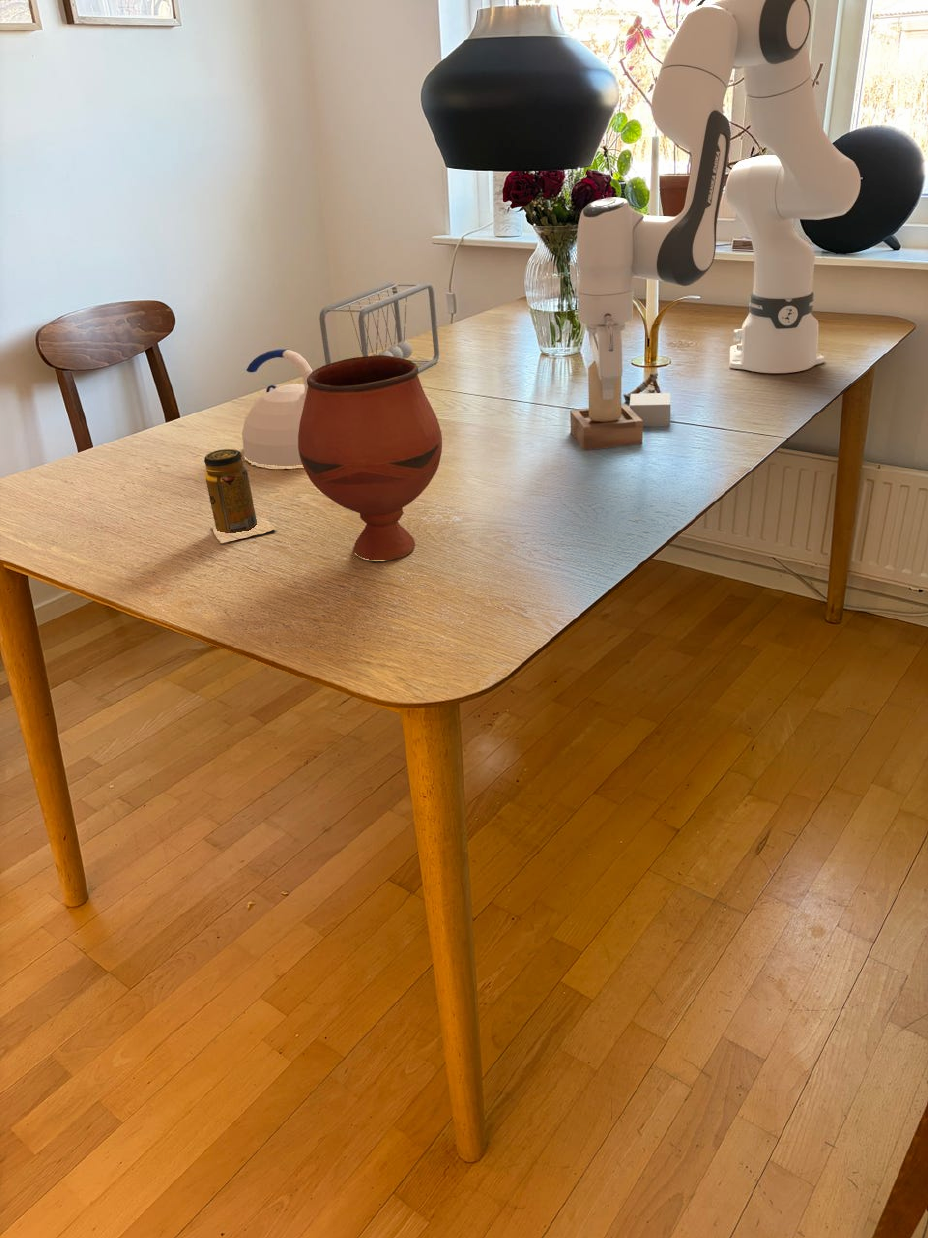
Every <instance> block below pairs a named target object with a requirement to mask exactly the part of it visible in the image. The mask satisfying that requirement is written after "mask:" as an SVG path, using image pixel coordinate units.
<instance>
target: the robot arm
mask: <svg viewBox="0 0 928 1238" xmlns="http://www.w3.org/2000/svg"><path fill="white" fill-rule="evenodd" d="M811 20H812V16H811V7H810V4H809V2H808V0H695V1H693V2H692V3H690V4H689V5H688V6H687V8H686V9H685V10H684V12H683V13H682V15H681V17H680V20H679V22H678V25H677V29H676V31H675V33H674V35H673V37H672V39H671V41H670V44H669V46H668V48H667V51H666V53H665V56H664V59H663V61H662V65H661V67H660V70H659V74H658V76H657V79H656V83H655V85H654V88H653V89H654V90H653V91H652V92H653V93H652V98H651V104H650V105H651V107H650V110H651V115H652V118H653V121H654V123H655V125H656V127H657V128H658V130H659V131H660V132H661V133H662V134H663V136H665V137H666V138H668V139H669V140H670V141H672V142H673V143H674V144H675V145H676V144H677V145H678V146H679V147H682V148H684V149H685V150H686V151H689V152H690V154H691V168H690V173H689V178H688V186H687V190H686V196H685V200H684V201H685V203H684V207H683V209H682V210H681V212H679V214H677V215H676V216H664V215H661V216H660V215H654V214H653V215H652V214H651V215H650V214H645V213H642V212H639V211H638V210H636V209H634V208H633V207H631V205H630V202H629V200H627V199H626V198H622V197H617V196H616V197H615V196H614V197H606V198H602V199H597V200H595V201H592V202H590V203H588V204H586V206H585V207H584V208H582V210H581V212H580V215H579V220H578V225H577V226H578V227H577V237H576V239H577V240H576V262H577V268H578V271H579V282H578V285H577V286H578V287H577V312H578V313H577V314H578V315H577V317H578V318H577V320H578V321H579V322H580V323H581V324H585V325H586V326H585V329H586V331H587V332H588V333H587V334H588V339H589V345H590V350H591V353H592V357H593V359H594V360H595V364H596V367H597V371H598V374H599V378H600V380H602V396H603V399H605V400H607V399H613V397H614V384H615V380H619V379H621V380H622V377H623V338H622V337H623V336H622V331H625V329H626V322H629V321H631V320H632V319H633V318H634V284H633V280H632V278H636V279H637V278H639V279H643V280H651V281H661V282H665V283H669V284H673V285H678V286H683V287H688V286H691V285H693V284H695V283H697V282H698V281H699V280H700V279H701V278H702V277H704V276H705V274H706V273H708V271H709V270H710V268H711V267H712V265H713V263H714V259H715V255H716V249H717V226H718V225H717V224H718V218H719V212H720V206H721V200H722V195H723V189H724V192H725V195H724V196H725V199H726V202H727V204H728V207H729V208H730V210H731V211H732V212H734V214H736V216H737V217H738V218H739V219H740V220H741V221H742V223H743V225H744V226H745V228H746V230H747V233H748V235H749V237H750V240H751V244H752V249H753V257H754V258H753V259H754V261H753V262H754V263H753V265H754V268H753V269H754V270H753V272H754V273H753V289H752V290H753V291H752V293H751V295H750V299H749V303H748V304H749V306H748V307H749V308H748V314H747V317H746V318H745V320H744V321H743V323H742V326H741V328H738V329H737V328H736V329H733V341H734V342H739V341H740V343H737V344H735V345H731V346H730V347H729V355H728V356H729V360H728V361H729V363H728V364H729V365H728V366H729V368H730V369H735V370H736V369H738V370H746V371H751V372H756V373H762V374H788V373H797V372H801V371H806V370H809V369H811V368H813V367H814V366H816V365H820V364H822V363H824V362H825V357H824V356H823V355H821V354H819V353H818V345H819V344H818V343H819V321H818V320H817V318H815V317H814V316H813V315H812V312H813V307H814V303H815V299H814V294H815V293H814V292H813V291H812V290H813V282H814V272H815V271H814V269H815V261H816V259H815V258H816V256H815V252H814V248H813V247H812V246H811V244H809V243H808V242H807V241H806V240H805V239H803V238H801V236H799V234H798V233H797V231H796V229H795V227H794V225H793V219H794V220H795V219H796V220H814V221H816V220H818V221H820V220H824V219H831V218H835V217H840V216H844V215H845V214H847V212H849V211H850V210H851V209H852V207H853V206H854V204H855V202H856V201H857V199H858V197H859V194H860V190H861V184H862V183H861V174H860V170H859V168H858V166H857V165H856V163H855V161H853V160H852V159H850V158H849V157H847V156H846V155H844V154H843V153H842V152H841V151H839V149H838V148H837V147H836V146H835V145H834V144H833V143H832V141H831V140H830V138H829V136H828V135H827V134H826V132H825V131H824V129H823V126H822V125H821V122H820V120H819V117H818V112H817V108H816V101H815V96H814V95H815V94H814V87H813V80H812V79H813V78H812V68H811V62H810V61H811V60H810V55H809V49H808V45H807V40H808V37H809V33H810V30H811V24H812V23H811V22H812V21H811ZM740 69H743V78H744V80H743V81H744V89H745V96H746V97H745V98H746V105H747V110H748V111H747V112H748V118H749V125H750V131H751V133H752V136H753V138H754V139H755V140H756V141H757V142H758V143H760V145H762V146H764V147H765V148H767V149H768V150H770V152H772V155H771V154H768V155H767V154H766V155H758V156H754V157H753V156H752V157H749V158H745V159H743V160H739V161H738V162H737V163H736V164H734V166H733V167H732V168H731V170H730V172H729V173H728V176H727V178H726V172H727V167H728V161H729V155H730V147H731V125H730V121H729V120H728V118H727V117H726V115H724V101H725V96H726V94H727V90H728V87H729V85H730V80H731V76H732V73H733V70H740ZM725 179H726V182H725ZM724 183H725V187H724ZM594 360H593V361H594Z"/></svg>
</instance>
